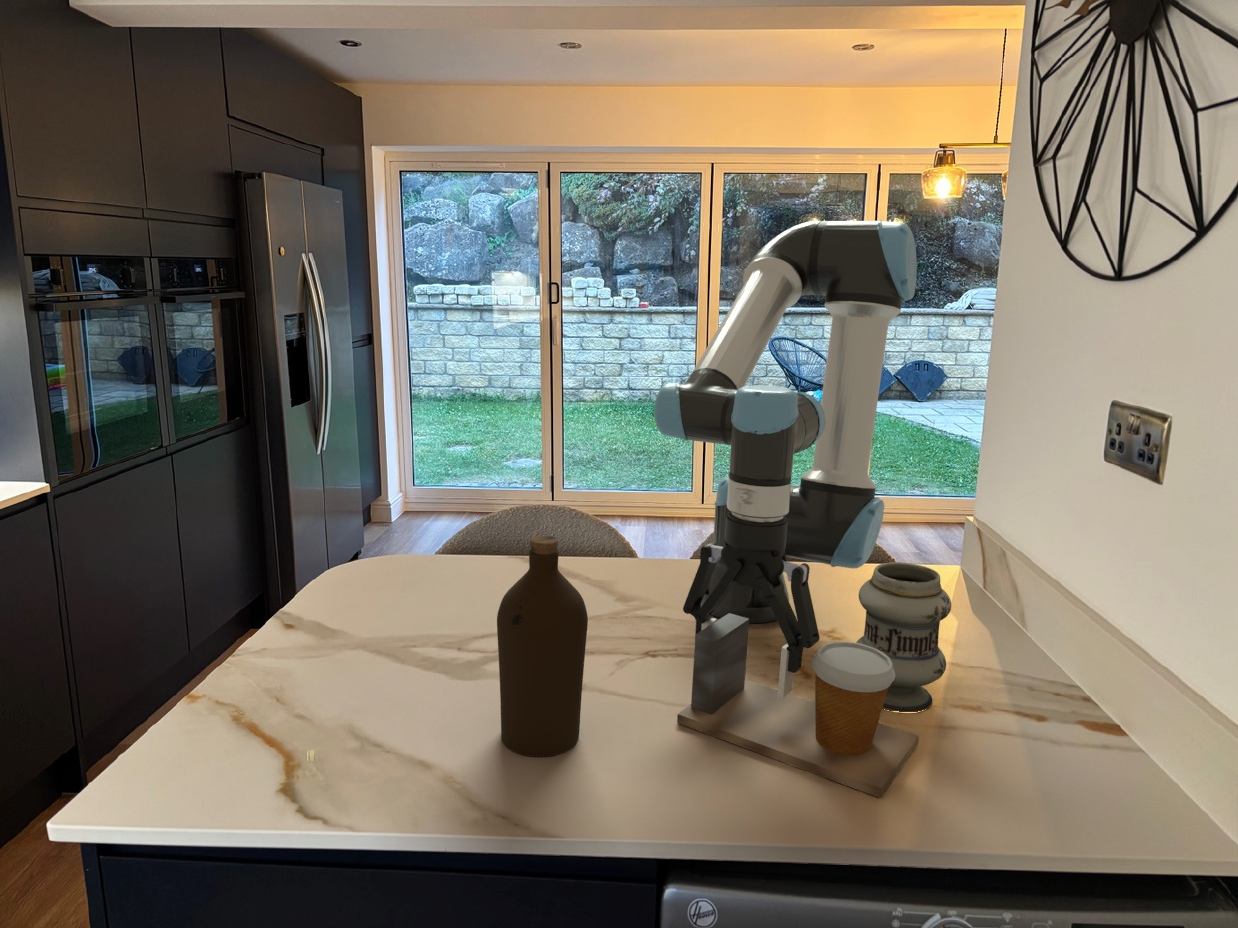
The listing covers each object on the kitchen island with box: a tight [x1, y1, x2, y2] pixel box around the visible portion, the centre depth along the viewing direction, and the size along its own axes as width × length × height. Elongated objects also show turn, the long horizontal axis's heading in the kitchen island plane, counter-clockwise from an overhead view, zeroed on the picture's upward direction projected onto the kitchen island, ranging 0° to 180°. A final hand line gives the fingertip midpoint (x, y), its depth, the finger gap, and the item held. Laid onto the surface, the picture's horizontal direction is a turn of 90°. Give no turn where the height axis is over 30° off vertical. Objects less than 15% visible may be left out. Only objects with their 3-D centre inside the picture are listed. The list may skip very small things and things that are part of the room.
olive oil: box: [496, 535, 589, 758], centre depth 103 cm, size 11×11×25 cm
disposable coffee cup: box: [811, 640, 895, 755], centre depth 104 cm, size 10×10×12 cm
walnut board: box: [676, 613, 920, 799], centre depth 107 cm, size 26×14×11 cm, turn 55°
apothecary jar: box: [855, 561, 952, 712], centre depth 118 cm, size 12×12×18 cm
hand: (744, 680), depth 112 cm, fingers open, 10 cm apart
